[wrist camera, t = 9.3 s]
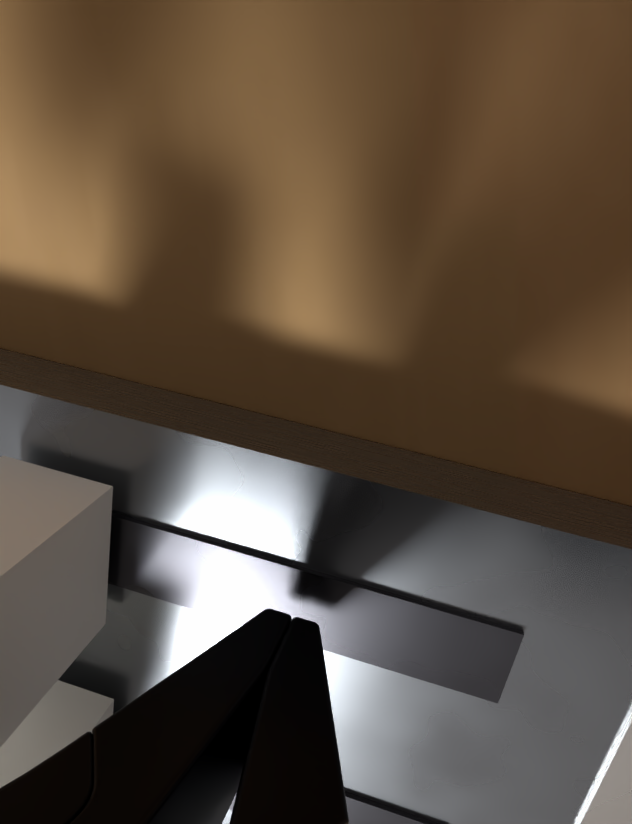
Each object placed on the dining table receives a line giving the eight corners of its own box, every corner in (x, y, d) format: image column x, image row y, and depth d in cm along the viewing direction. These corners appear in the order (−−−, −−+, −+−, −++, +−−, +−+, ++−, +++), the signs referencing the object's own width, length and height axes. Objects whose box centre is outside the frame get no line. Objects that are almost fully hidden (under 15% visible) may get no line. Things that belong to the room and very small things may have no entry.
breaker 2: (114, 699, 11) (-23, 895, 8) (107, 800, 12) (-17, 1010, 9) (19, 666, 11) (-149, 843, 8) (20, 768, 12) (-129, 961, 9)
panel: (915, 577, 9) (1008, 651, 7) (598, 1060, 14) (615, 1161, 12) (-100, 323, 12) (-182, 340, 10) (-60, 805, 16) (-110, 863, 15)
